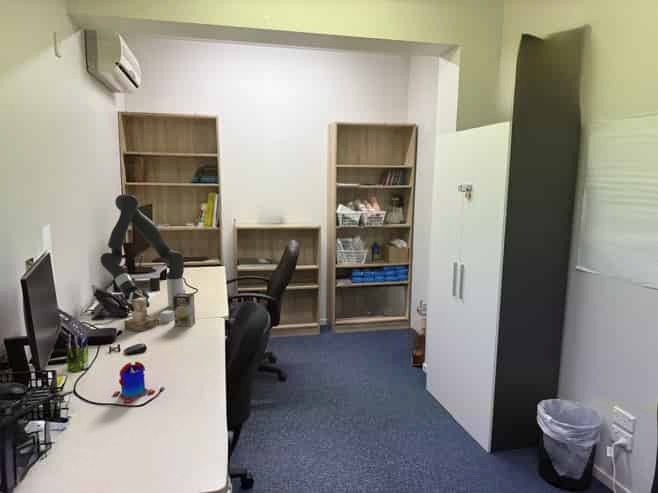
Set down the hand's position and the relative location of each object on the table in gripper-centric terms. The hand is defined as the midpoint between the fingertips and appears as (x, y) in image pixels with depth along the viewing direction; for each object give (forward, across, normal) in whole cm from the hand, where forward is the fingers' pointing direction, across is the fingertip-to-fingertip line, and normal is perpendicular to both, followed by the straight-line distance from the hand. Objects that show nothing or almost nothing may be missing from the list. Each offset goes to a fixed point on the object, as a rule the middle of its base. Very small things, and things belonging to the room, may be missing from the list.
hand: (141, 308), depth 227 cm
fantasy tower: (+50, -45, -35) cm, 75 cm away
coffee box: (+18, +15, -3) cm, 23 cm away
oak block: (+3, 0, +5) cm, 6 cm away
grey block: (+8, +14, +6) cm, 17 cm away
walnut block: (+6, 0, +8) cm, 10 cm away
